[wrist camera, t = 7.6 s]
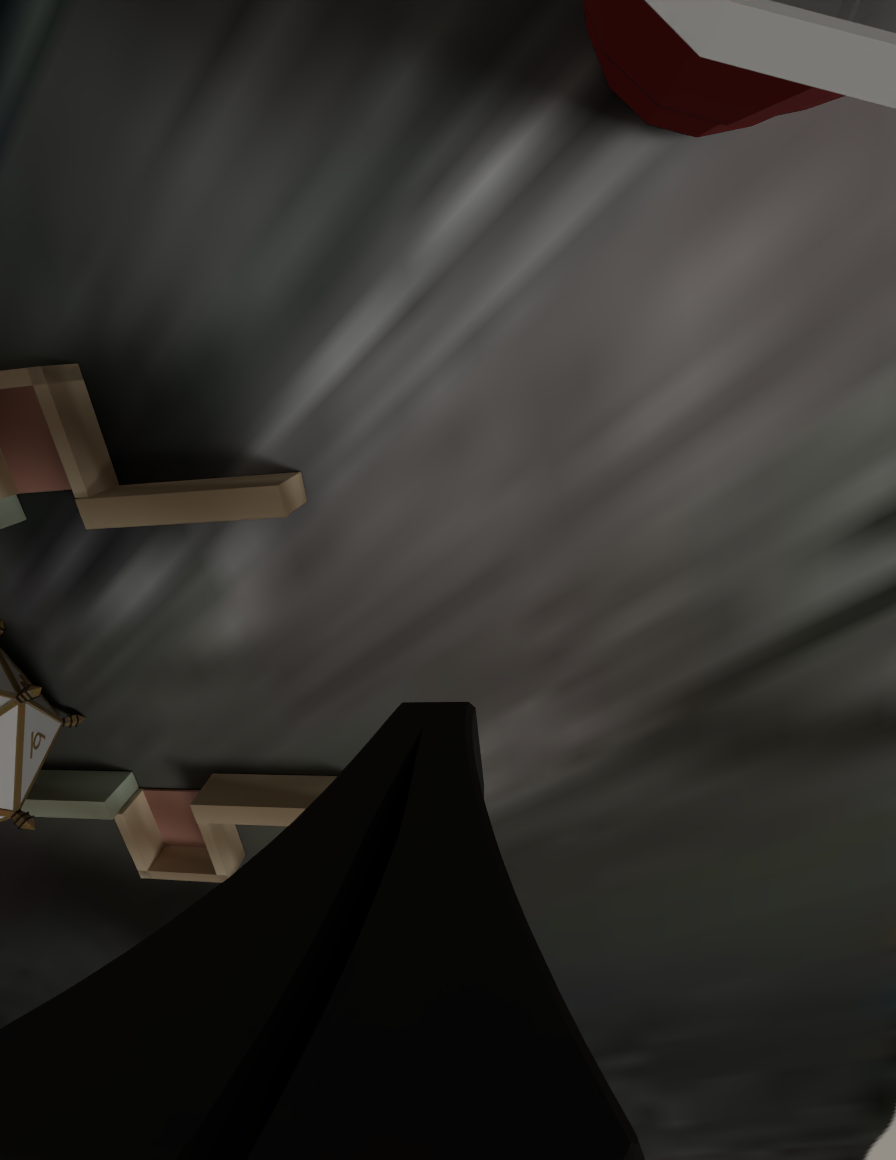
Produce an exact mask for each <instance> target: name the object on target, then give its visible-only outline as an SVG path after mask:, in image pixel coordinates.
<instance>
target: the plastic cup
mask: <svg viewBox="0 0 896 1160" xmlns="http://www.w3.org/2000/svg"><path fill="white" fill-rule="evenodd" d="M583 6H584V13H585V20H586V27H587V32H588V34H589V37H590V39H591V42H592V45H593V47H594V50H595V52H596V55H597V57H598V60H599V62H600V65H601V68H602V70H603V73H604V75H605V78H606V80H607V83H608V85H609V87H610V88H611V89H612V90H613V91H614V92H615V93H616V94H617V95H618V96H619V97H620V98H621V99H622V100H623V101H624V102H625V103H626V104H627V105H628V106H629V107H630V108H631V109H632V110H633V111H634V112H635V113H637V114H638V115H639V116H640V117H641V118H642V119H643V120H644V121H645V122H646V123H647V124H650V125H653V126H657V127H660V128H664V129H668V130H671V131H675V132H679V133H682V134H686V135H689V136H693V137H701V136H706V135H711V134H716V133H721V132H725V131H730V130H735V129H740V128H745V127H750V126H753V125H755V124H758V123H760V122H762V121H765V120H767V119H769V118H772V117H774V116H777V115H782V114H787V113H792V112H797V111H801V110H806V109H809V108H812V107H815V106H817V105H820V104H823V103H826V102H829V101H832V100H835V99H838V98H840V97H843V96H850V97H854V98H857V99H861V100H865V101H869V102H873V103H876V104H880V105H884V106H888V107H891V108H895V109H896V0H583Z"/></svg>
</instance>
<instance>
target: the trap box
mask: <svg viewBox="0 0 896 1160" xmlns="http://www.w3.org/2000/svg"><path fill="white" fill-rule="evenodd" d="M58 490H72V491H73V493H74V496H75V498H79V499H76V500H75V501H76V504H77V507H78V509H79V512H80V515H81V517H82V520H83V522H84V525H85V528H86V529H101V528H117V527H134V526H150V525H167V524H183V523H200V522H216V521H233V520H249V519H266V518H282V517H287V516H288V515H289V514H291V513H292V512H293V511H295V510H296V509H297V508H299V507H300V506H301V505H303V504H304V503H305V502H307V499H306V494H305V489H304V484H303V480H302V475H301V472H291V473H278V474H265V475H251V476H238V477H225V478H211V479H198V480H185V481H171V482H158V483H144V484H131V485H119V482H118V480H117V477H116V474H115V471H114V468H113V465H112V462H111V459H110V456H109V453H108V450H107V447H106V444H105V441H104V438H103V435H102V433H101V430H100V427H99V424H98V421H97V418H96V415H95V412H94V409H93V406H92V403H91V400H90V397H89V394H88V391H87V389H86V386H85V383H84V380H83V377H82V374H81V371H80V368H79V365H78V364H64V365H49V366H37V367H29V368H20V369H12V370H3V371H0V529H2V528H5V527H8V526H10V525H13V524H16V523H19V522H21V521H24V520H27V519H26V517H25V514H24V512H23V510H22V507H21V505H20V502H19V500H18V498H17V495H16V494H19V493H32V492H45V491H58ZM80 497H81V498H80ZM336 777H337V776H304V775H258V774H212V775H211V776H210V778H209V779H208V780H207V782H206V783H205V785H204V786H203V787H202V789H201V790H172V789H139V787H138V785H137V782H136V780H135V777H134V775H133V773H132V772H120V771H74V770H40V772H39V774H38V776H37V778H36V780H35V782H34V784H33V786H32V788H31V790H30V792H29V794H28V796H27V798H26V800H25V802H24V804H23V806H22V808H21V810H22V811H24V812H28V811H29V814H30V815H31V816H33V815H34V816H35V817H59V818H85V819H111V820H113V818H114V819H115V821H116V823H117V826H118V828H119V830H120V832H121V835H122V837H123V839H124V841H125V843H126V846H127V848H128V850H129V852H130V854H131V857H132V859H133V861H134V863H135V865H136V868H137V870H138V872H139V874H140V876H141V878H149V879H167V880H184V881H202V882H219V883H222V882H224V881H225V880H226V879H228V878H229V877H230V876H231V875H233V874H234V873H235V872H236V871H237V869H238V867H239V866H240V864H241V862H242V860H243V858H244V857H245V852H244V849H243V846H242V844H241V841H240V838H239V835H238V832H237V829H236V826H235V824H243V825H269V826H289V825H290V824H291V823H292V822H293V821H294V820H295V819H296V818H297V817H298V816H299V815H300V814H301V813H302V812H303V811H304V810H305V809H306V808H307V807H308V806H309V805H310V804H311V803H312V802H313V801H314V800H315V799H316V798H317V797H318V796H319V795H320V794H321V793H322V792H323V791H324V790H325V789H326V788H327V787H328V786H329V785H330V784H331V783H332V782H333V781H334V779H335V778H336Z"/></svg>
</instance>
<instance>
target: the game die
mask: <svg viewBox="0 0 896 1160" xmlns="http://www.w3.org/2000/svg"><path fill="white" fill-rule="evenodd" d="M5 631H6V630H4V625H3V620H2V621H0V637H2V633H3V632H5ZM41 688H42V687H38V686H34V685H33V684H32V683H31V682H30V681H29V680H28V678H27V677H26V676H25V675H24V674H23V673H22V672H21V670H20V669H19V668H18V667H17V666H16V665H15V664H14V662H13V661H12V660H11V659H10V658H9V657H8V656H7V654H6V653H5V652H4V651H3V650H2V649H1V647H0V822H1V821H4V820H7V819H10V818H13V820H14V823H13V824H14V825H18V826H19V827H18V829H32V830H35V826H34V817H35V816H34V815H33V816H31V815H30V814H29V811H28V812H24V811H22V810H21V808H22V806H23V804H24V802H25V800H26V798H27V796H28V794H29V792H30V790H31V788H32V786H33V784H34V782H35V780H36V778H37V776H38V774H39V772H40V770H41V768H42V765H43V763H44V761H45V759H46V757H47V755H48V753H49V751H50V749H51V747H52V745H53V743H54V741H55V739H56V737H57V735H58V733H59V731H60V729H61V727H62V726H69V728H70V727H71V726H75V727H77V725H78V724H79V723H81V722H82V721H83V720H84V719H86V718H85V717H82V716H80V715H78V714H73V716H72V715H68V716H67V717H65V718H62V717H61V716H60V715H59V714H58V713H57V712H56V711H55V709H54V708H53V707H52V706H51V705H50V704H49V703H48V701H47V700H46V699H45V698H44V697H43V696H42V694H41V693H40V692H41Z"/></svg>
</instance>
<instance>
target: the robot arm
mask: <svg viewBox="0 0 896 1160" xmlns="http://www.w3.org/2000/svg"><path fill="white" fill-rule="evenodd" d="M0 1160H645V1158H644V1155H643V1153H642V1150H641V1147H640V1144H639V1141H638V1138H637V1136H636V1134H635V1132H634V1130H633V1128H632V1126H631V1124H630V1122H629V1120H628V1119H627V1117H626V1115H625V1113H624V1112H623V1110H622V1108H621V1106H620V1105H619V1103H618V1101H617V1099H616V1097H615V1096H614V1094H613V1092H612V1090H611V1089H610V1087H609V1085H608V1083H607V1081H606V1080H605V1078H604V1076H603V1074H602V1072H601V1070H600V1069H599V1067H598V1065H597V1063H596V1061H595V1059H594V1057H593V1056H592V1054H591V1052H590V1050H589V1048H588V1046H587V1045H586V1043H585V1041H584V1039H583V1037H582V1035H581V1033H580V1031H579V1029H578V1027H577V1025H576V1023H575V1021H574V1019H573V1017H572V1015H571V1013H570V1011H569V1010H568V1008H567V1006H566V1004H565V1002H564V1000H563V998H562V996H561V994H560V992H559V990H558V988H557V985H556V983H555V981H554V979H553V977H552V975H551V973H550V970H549V968H548V966H547V964H546V962H545V960H544V957H543V955H542V953H541V951H540V949H539V947H538V945H537V942H536V940H535V938H534V936H533V934H532V932H531V929H530V927H529V925H528V923H527V920H526V918H525V916H524V913H523V911H522V908H521V906H520V903H519V901H518V898H517V896H516V894H515V891H514V889H513V886H512V883H511V881H510V878H509V875H508V873H507V870H506V867H505V865H504V862H503V859H502V856H501V854H500V851H499V848H498V845H497V842H496V839H495V836H494V832H493V829H492V826H491V822H490V819H489V816H488V812H487V809H486V805H485V801H484V781H483V772H482V763H481V754H480V745H479V736H478V727H477V718H476V709H475V707H474V706H473V705H472V704H470V703H469V702H410V703H402V704H401V705H400V706H399V707H398V708H397V709H396V710H395V711H394V712H393V713H392V715H391V716H390V717H389V718H388V719H387V720H386V722H385V723H384V724H383V725H382V726H381V728H380V729H379V730H378V731H377V732H376V733H375V735H374V736H373V737H372V738H371V739H370V740H369V742H368V743H367V744H366V745H365V746H364V747H363V748H362V750H361V751H360V752H359V753H358V754H357V755H356V756H355V757H354V759H353V760H352V761H351V762H350V763H349V764H348V765H347V766H346V767H345V768H344V770H343V771H342V772H341V773H340V774H339V775H338V776H337V777H336V778H335V779H334V781H333V782H332V783H331V784H330V785H329V786H328V787H327V788H326V789H325V790H324V791H323V792H322V793H321V794H320V795H319V796H318V797H317V798H316V799H315V800H314V801H313V802H312V803H311V804H310V805H309V806H308V807H307V808H306V809H305V810H304V811H303V812H302V813H301V814H300V815H299V816H298V817H297V818H296V819H295V820H294V821H293V822H292V823H291V824H290V825H289V826H288V827H287V828H286V829H285V830H283V831H282V832H281V833H280V834H279V835H278V836H277V837H276V838H275V839H274V840H273V841H272V842H270V843H269V844H268V845H267V846H266V847H265V848H264V849H262V850H261V851H260V852H259V853H258V854H256V855H255V856H254V857H253V858H252V859H251V860H249V861H248V862H247V863H246V864H245V865H243V866H242V867H241V868H240V869H239V870H237V871H236V872H235V873H234V874H233V875H231V876H230V877H229V878H228V879H226V880H225V881H224V882H222V883H221V884H220V885H218V886H217V887H216V888H214V889H213V890H212V891H210V892H209V893H208V894H206V895H205V896H204V897H202V898H201V899H200V900H198V901H197V902H196V903H194V904H193V905H192V906H190V907H189V908H188V909H186V910H185V911H184V912H182V913H181V914H180V915H178V916H177V917H176V918H174V919H173V920H172V921H170V922H169V923H168V924H166V925H165V926H163V927H162V928H161V929H159V930H158V931H156V932H155V933H153V934H152V935H150V936H149V937H147V938H146V939H144V940H143V941H142V942H140V943H139V944H137V945H136V946H134V947H133V948H131V949H130V950H128V951H127V952H125V953H124V954H122V955H121V956H119V957H118V958H116V959H115V960H113V961H111V962H110V963H108V964H107V965H105V966H104V967H102V968H101V969H99V970H98V971H96V972H94V973H93V974H91V975H90V976H88V977H87V978H85V979H84V980H82V981H80V982H79V983H77V984H75V985H74V986H72V987H71V988H69V989H67V990H66V991H64V992H63V993H61V994H59V995H58V996H56V997H54V998H53V999H51V1000H49V1001H47V1002H46V1003H44V1004H42V1005H41V1006H39V1007H37V1008H35V1009H34V1010H32V1011H30V1012H28V1013H27V1014H25V1015H23V1016H22V1017H20V1018H18V1019H16V1020H15V1021H13V1022H11V1023H10V1024H8V1025H6V1026H4V1027H3V1028H1V1029H0Z"/></svg>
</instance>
